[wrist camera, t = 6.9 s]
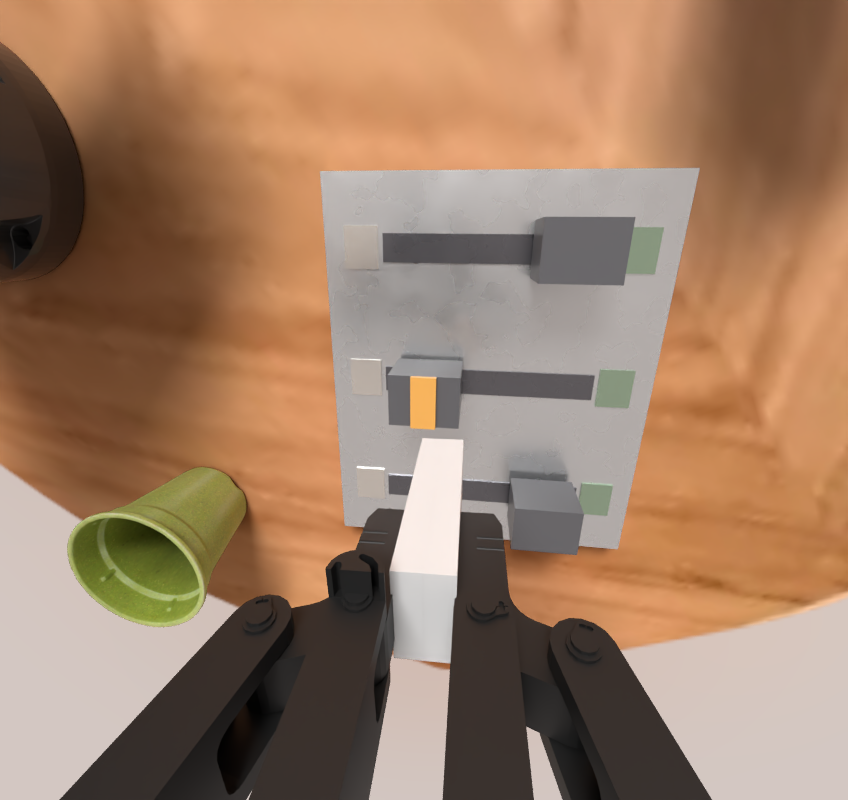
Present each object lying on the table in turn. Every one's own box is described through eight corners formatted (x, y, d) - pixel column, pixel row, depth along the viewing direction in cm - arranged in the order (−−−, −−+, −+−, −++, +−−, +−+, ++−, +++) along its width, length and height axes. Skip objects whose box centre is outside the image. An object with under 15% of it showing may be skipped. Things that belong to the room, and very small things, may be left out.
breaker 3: (507, 514, 29) (510, 549, 26) (510, 477, 28) (515, 508, 25) (565, 519, 29) (577, 554, 26) (571, 482, 28) (584, 513, 25)
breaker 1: (399, 402, 27) (387, 426, 24) (398, 358, 26) (386, 376, 23) (460, 406, 27) (458, 431, 23) (462, 360, 26) (460, 379, 22)
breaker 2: (529, 278, 24) (537, 283, 20) (535, 220, 23) (544, 216, 19) (603, 279, 23) (623, 285, 20) (612, 220, 22) (635, 216, 19)
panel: (352, 510, 34) (344, 526, 32) (331, 176, 25) (319, 170, 23) (609, 531, 32) (618, 550, 30) (681, 173, 23) (701, 167, 21)
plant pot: (266, 553, 37) (207, 641, 29) (165, 531, 37) (78, 612, 29) (267, 460, 33) (199, 530, 25) (155, 438, 34) (54, 500, 26)
